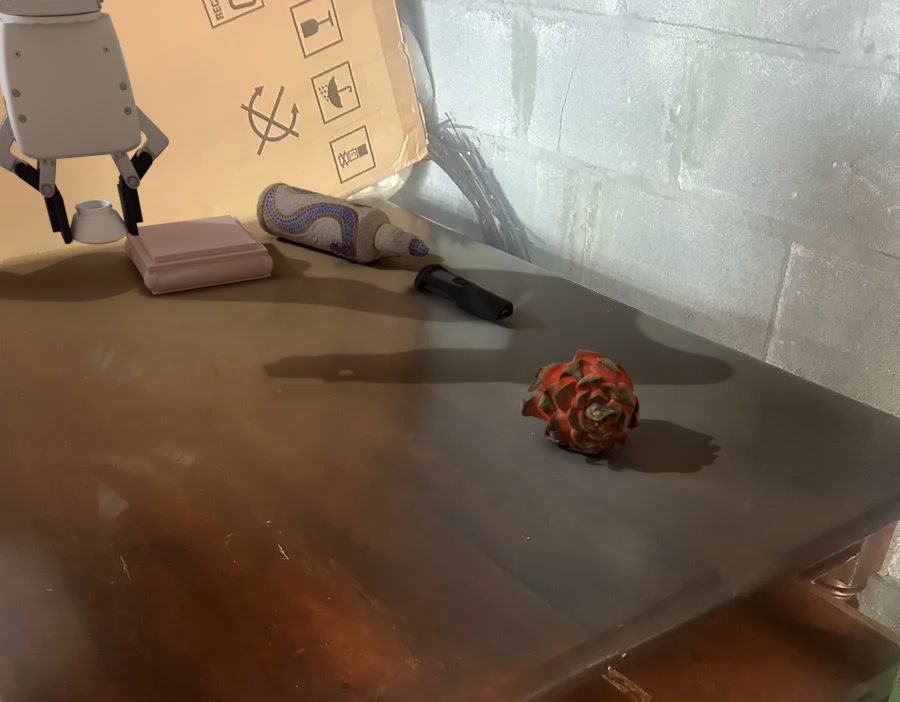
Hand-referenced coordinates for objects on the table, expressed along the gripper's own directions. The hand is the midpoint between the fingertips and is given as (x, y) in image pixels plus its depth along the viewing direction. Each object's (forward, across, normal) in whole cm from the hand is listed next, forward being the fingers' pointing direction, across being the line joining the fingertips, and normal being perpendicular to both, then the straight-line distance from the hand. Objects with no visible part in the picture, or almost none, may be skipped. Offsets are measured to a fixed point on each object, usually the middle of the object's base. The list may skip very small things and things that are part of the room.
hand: (99, 233), depth 82 cm
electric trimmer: (+12, -37, 0) cm, 39 cm away
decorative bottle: (+13, -30, -22) cm, 39 cm away
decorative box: (+13, -13, -25) cm, 31 cm away
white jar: (+1, 0, 0) cm, 1 cm away
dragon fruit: (+12, -32, +32) cm, 47 cm away
